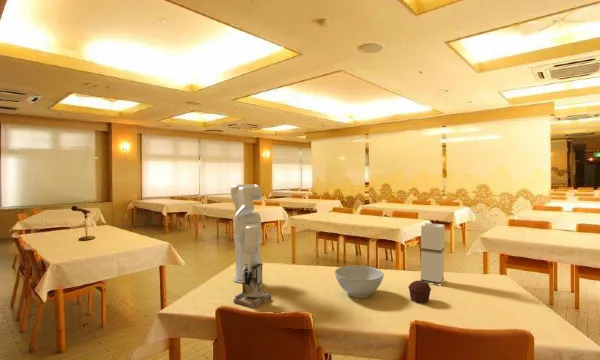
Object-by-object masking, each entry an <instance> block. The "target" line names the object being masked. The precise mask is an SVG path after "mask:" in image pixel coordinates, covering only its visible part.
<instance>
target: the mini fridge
mask: <svg viewBox="0 0 600 360" xmlns="http://www.w3.org/2000/svg"><path fill="white" fill-rule="evenodd" d="M445 226H446V225H445V224H440V223H426V222H425V223H424V225H420V229H421V230H420V232H421V233H420V238H421V240H420V281H424V282H426V283H433V284H441V283H442V281H443V280H445V278H444V269H445V268H444V264H445V262H444V261H445V258H444V257H445ZM443 282H444V281H443ZM442 284H443V283H442Z"/></svg>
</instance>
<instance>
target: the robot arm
mask: <svg viewBox="0 0 600 360" xmlns="http://www.w3.org/2000/svg"><path fill="white" fill-rule="evenodd" d="M230 196H231V199H232V202H233V204H234V205H233V206H234V213H235V214H234V216H233V219H232V226H233V240H234V250H235V276H234V277H233V280H232V281H233V282H235V283H238V284H239V283H240V284H243V280H242V274H243V275H244V277H245V284H247V285H250V277H249V276H250V273H251V272H252V267H254V266H256V265H258V264H262V266H263V265H264V263H263V262H261V261H262V260H261V250H260V244H261V243H262V240H263V232H262V229H263V228H262V218H261V214H260V213H259V212H257V211H254V210H255V205H254V201H260V200H262V197H263V190H262V188H261V187H260V186H259V184H253V183H252V184H248V183H247V184H243V183H242V184H235V185H231V187H230ZM242 266H243V269H242ZM247 269H248V271H247ZM247 272H248V274H247Z"/></svg>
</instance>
